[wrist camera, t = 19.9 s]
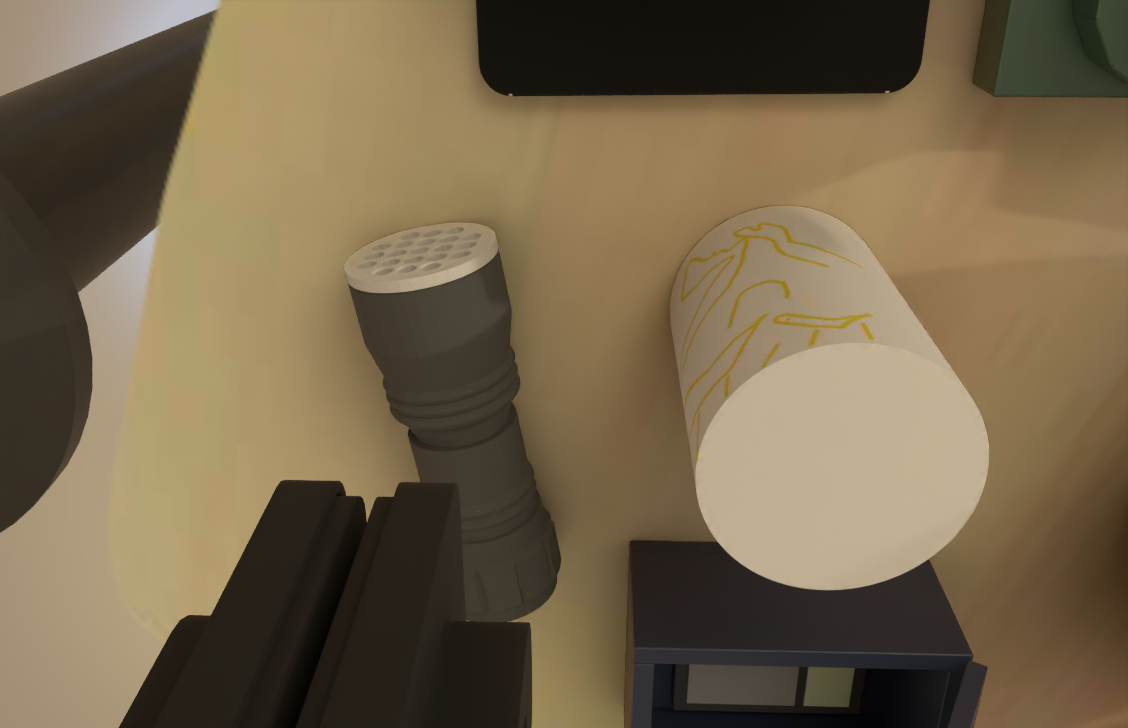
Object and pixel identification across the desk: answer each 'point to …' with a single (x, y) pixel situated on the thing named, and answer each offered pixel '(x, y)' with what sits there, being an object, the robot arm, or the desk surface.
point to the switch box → (1054, 48)
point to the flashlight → (460, 400)
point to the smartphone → (699, 46)
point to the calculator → (767, 689)
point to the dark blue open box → (786, 639)
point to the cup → (818, 405)
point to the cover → (968, 696)
